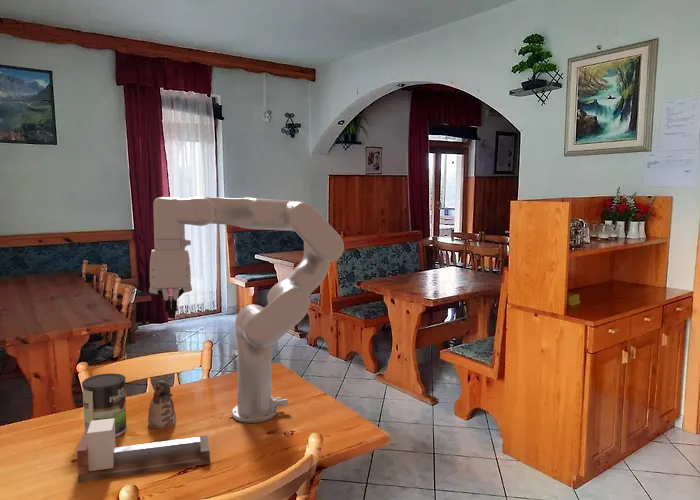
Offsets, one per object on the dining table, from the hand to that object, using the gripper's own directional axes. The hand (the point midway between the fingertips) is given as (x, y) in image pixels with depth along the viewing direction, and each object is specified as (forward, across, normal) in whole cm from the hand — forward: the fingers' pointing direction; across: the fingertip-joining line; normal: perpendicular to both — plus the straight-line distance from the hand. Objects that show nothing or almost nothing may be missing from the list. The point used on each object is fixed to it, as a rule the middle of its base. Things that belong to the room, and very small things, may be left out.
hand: (171, 314), depth 140 cm
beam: (+30, +6, +18) cm, 35 cm away
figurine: (+31, +3, -3) cm, 32 cm away
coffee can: (+31, +17, -2) cm, 36 cm away
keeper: (+30, +15, +18) cm, 38 cm away
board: (+31, +6, +18) cm, 36 cm away
